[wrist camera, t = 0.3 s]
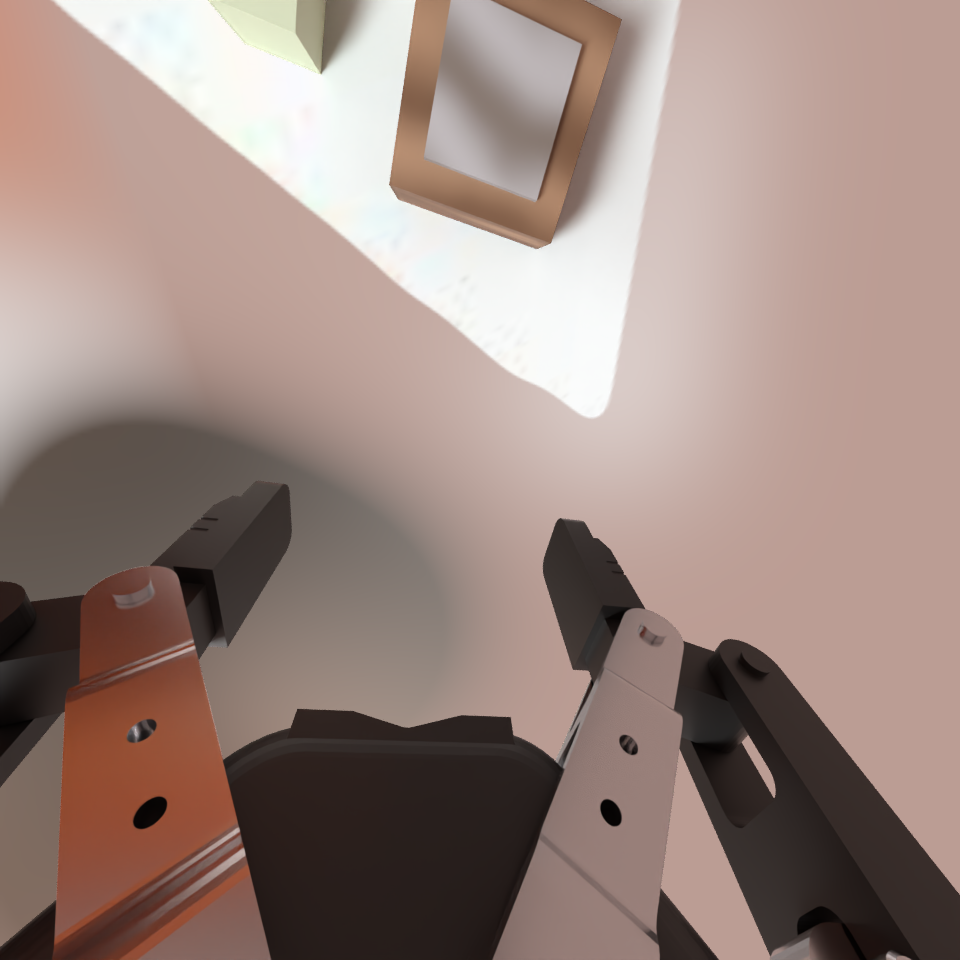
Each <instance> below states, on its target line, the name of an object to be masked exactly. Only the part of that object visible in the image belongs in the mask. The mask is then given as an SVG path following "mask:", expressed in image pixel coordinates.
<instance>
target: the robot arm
mask: <svg viewBox="0 0 960 960" xmlns="http://www.w3.org/2000/svg"><path fill="white" fill-rule="evenodd" d="M291 533H292V526H291V509H290V492H289V487H288V485H286V484H279V483H272V482H264V481H256V482H255V483H253V484H252V486H251V487H250V488H249V489H248V490H247V491H246V492H245V493H244V494H243V495H242V496H241V497H239V496H232V497H229V498H228V499H225V500H223V501H221V502H219V503H217V504H215V505H213V506H212V507H211V508H210V509H209V510H208V511H207V512H206V513H205V514H204V515H203V516H202V517H201V520H200V519H199V520H198V521H197V522H196V523H194V524H193V525H192V526H191V529H190V530H187V531H186V532H185V533H184V534H183V535H182V536H181V537H180V538H179V539H178V540H177V541H175V542H174V543H173V544H172V545H171V546H170V547H169V548H168V549H167V550H166V551H165V552H164V553H163V554H162V555H161V556H160V557H158V558H157V559H156V560H155V561H154V562H153V563H152V564H151V565H150V566H144V567H137V568H132V569H128V570H125V571H121V572H119V573H116V574H114V575H111V576H109V577H107V578H105V579H103V580H102V581H100V582H98V583H97V584H96V585H94V586H93V587H92V588H91V589H90V590H89V591H88V592H87V593H86V594H85V595H80V596H73V597H64V598H57V599H49V600H40V601H33V602H30V600H29V598H28V596H27V594H26V592H25V590H24V589H23V587H22V586H20V585H18V584H16V583H12V582H3V581H2V582H1V581H0V787H1V786H2V784H3V783H4V782H5V781H6V779H7V778H8V777H9V776H10V775H11V774H12V772H13V771H14V770H15V769H16V768H17V766H18V765H19V764H20V763H21V762H22V760H23V759H24V758H25V756H26V755H27V754H28V753H29V752H30V751H31V749H32V748H33V747H34V746H35V744H37V742H38V741H39V740H40V739H41V737H42V736H43V735H44V734H45V733H46V731H47V730H48V729H49V728H50V727H51V725H52V724H53V723H54V722H55V721H56V719H57V718H58V717H59V716H60V714H61V713H62V712H65V716H64V717H65V718H64V738H63V740H64V741H63V761H62V783H61V784H62V785H61V806H60V807H61V808H60V830H59V851H58V873H57V875H58V876H57V896H56V900H55V901H54V902H53V903H52V904H51V905H50V906H48V907H47V908H46V909H45V910H44V911H42V912H41V913H40V914H39V915H38V916H36V917H35V918H34V919H33V920H32V921H31V922H30V923H28V924H27V925H26V926H25V927H23V928H22V929H21V930H20V931H19V932H18V933H16V934H15V935H14V936H13V937H12V938H10V939H9V940H8V941H7V942H6V943H4V944H3V945H2V946H1V947H0V960H719V959H718V958H717V957H716V955H715V954H714V953H713V952H712V951H711V949H710V948H709V947H708V946H707V944H706V943H705V942H704V941H703V940H702V938H701V937H700V936H699V935H698V933H697V932H696V931H695V930H694V928H693V927H692V926H691V925H690V924H689V922H688V921H687V920H686V919H685V917H684V916H683V915H682V914H681V913H680V911H679V910H678V909H677V908H676V906H675V905H674V904H673V903H672V902H671V901H670V899H669V898H668V897H667V895H666V894H665V893H664V892H663V891H662V889H661V881H662V874H663V867H664V859H665V852H666V844H667V836H668V829H669V822H670V813H671V807H672V799H673V792H674V785H675V777H676V770H677V762H678V755H679V749H680V751H681V753H682V755H683V758H684V760H685V762H686V765H687V767H688V769H689V771H690V774H691V776H692V778H693V780H694V783H695V785H696V787H697V790H698V792H699V794H700V797H701V799H702V801H703V803H704V806H705V808H706V810H707V812H708V815H709V817H710V819H711V822H712V824H713V826H714V829H715V831H716V833H717V835H718V838H719V840H720V842H721V845H722V847H723V849H724V851H725V854H726V856H727V858H728V860H729V863H730V865H731V867H732V870H733V872H734V874H735V877H736V879H737V881H738V883H739V886H740V888H741V890H742V892H743V895H744V897H745V899H746V902H747V904H748V906H749V909H750V911H751V913H752V915H753V917H754V920H755V922H756V925H757V927H758V929H759V931H760V934H761V936H762V938H763V940H764V943H765V945H766V947H767V950H768V952H769V954H770V960H960V895H959V893H958V892H957V891H956V890H955V888H954V887H953V886H952V885H951V883H950V882H949V881H948V880H947V878H946V877H945V876H944V875H943V873H942V872H941V871H940V869H939V868H938V867H937V866H936V864H935V863H934V862H933V861H932V860H931V858H930V857H929V856H928V854H927V853H926V852H925V850H924V849H923V848H922V847H921V846H920V844H919V843H918V842H917V840H916V839H915V838H914V837H913V835H912V834H911V833H910V832H909V831H908V829H907V828H906V827H905V825H904V824H903V823H902V821H901V820H900V819H899V818H898V816H897V815H896V814H895V813H894V811H893V810H892V809H891V808H890V806H889V805H888V804H887V803H886V801H885V800H884V799H883V798H882V796H881V795H880V794H879V793H878V791H877V790H876V789H875V788H874V786H873V785H872V784H871V782H870V781H869V780H868V779H867V777H866V776H865V775H864V774H863V772H862V771H861V770H860V769H859V767H858V766H857V765H856V763H855V762H854V761H853V760H852V758H851V757H850V756H849V755H848V753H847V752H846V751H845V750H844V748H843V747H842V746H841V744H840V743H839V742H838V741H837V739H836V738H835V737H834V736H833V734H832V733H831V732H830V731H829V730H828V728H827V727H826V726H825V724H824V723H823V722H822V721H821V719H820V718H819V717H818V715H817V714H816V713H815V712H814V710H813V709H812V708H811V707H810V705H809V704H808V703H807V702H806V700H805V699H804V698H803V697H802V695H801V694H800V693H799V692H798V690H797V689H796V688H795V686H793V684H792V683H791V681H790V680H789V679H788V678H787V676H786V675H785V674H784V673H783V671H782V670H781V669H780V668H779V667H778V665H777V664H776V663H775V662H774V661H773V660H772V659H770V658H769V657H768V656H767V655H766V654H764V653H763V652H761V651H760V650H758V649H757V648H755V647H753V646H751V645H749V644H747V643H745V642H742V641H739V640H733V639H728V640H724V641H722V642H721V643H720V645H719V646H718V648H717V649H716V650H715V652H714V651H711V650H708V649H705V648H702V647H699V646H696V645H693V644H691V643H687V642H685V641H683V639H682V637H681V635H680V634H679V632H678V631H677V629H676V628H675V627H674V626H673V625H672V624H671V623H670V622H669V621H668V620H666V619H665V618H663V617H662V616H660V615H658V614H657V613H654V612H652V611H649V610H646V609H645V608H644V606H643V604H642V602H641V601H640V599H639V597H638V596H637V594H636V592H635V590H634V589H633V587H632V585H631V584H630V582H629V580H628V579H627V577H626V575H624V572H623V570H622V569H621V567H620V565H618V562H617V560H616V558H615V557H614V555H613V553H612V552H611V550H610V549H609V548H608V547H607V546H606V545H605V544H604V543H602V542H601V541H600V540H599V539H598V538H593V537H592V535H591V533H590V531H589V529H588V527H587V525H586V524H585V522H583V521H579V520H570V519H562V518H560V519H558V520H557V522H556V524H555V527H554V530H553V533H552V536H551V539H550V542H549V545H548V548H547V550H546V553H545V557H544V562H543V574H544V578H545V582H546V585H547V588H548V591H549V595H550V598H551V601H552V604H553V607H554V610H555V613H556V617H557V620H558V623H559V626H560V630H561V633H562V636H563V639H564V642H565V646H566V649H567V652H568V655H569V658H570V661H571V665H572V668H573V670H588V671H589V672H590V675H591V680H590V683H589V684H588V686H587V689H586V691H585V693H584V696H583V698H582V701H581V703H580V705H579V708H578V710H577V712H576V715H575V717H574V720H573V722H572V724H571V727H570V729H569V731H568V734H567V736H566V738H565V741H564V743H563V745H562V748H561V750H560V752H559V754H558V756H557V758H556V760H555V761H554V759H553V758H551V757H550V756H549V755H548V754H546V753H545V752H544V751H543V750H541V749H539V748H538V747H536V746H535V745H533V744H532V743H530V742H528V741H526V740H524V739H522V738H519V737H516V736H514V735H513V731H512V724H511V718H510V717H491V716H466V715H465V716H464V715H461V716H457V717H453V718H448V719H444V720H440V721H436V722H432V723H428V724H424V725H420V726H415V727H411V728H404V727H401V726H398V725H394V724H391V723H388V722H385V721H382V720H379V719H375V718H372V717H370V716H367V715H364V714H360V713H357V712H354V711H335V710H309V709H297V712H296V714H295V717H294V720H293V723H292V726H291V728H289V729H285V730H281V731H278V732H275V733H272V734H269V735H266V736H264V737H262V738H260V739H258V740H256V741H253V742H251V743H249V744H248V745H246V746H244V747H243V748H241V749H239V750H237V751H236V752H234V753H233V754H231V755H230V756H228V757H227V758H225V759H224V760H223V757H222V753H221V749H220V745H219V741H218V736H217V732H216V729H215V724H214V720H213V716H212V712H211V708H210V704H209V700H208V695H207V692H206V687H205V684H204V679H203V675H202V671H201V667H200V663H199V659H200V657H201V656H202V654H203V653H204V651H205V650H206V648H207V647H208V646H212V647H226V648H227V647H228V646H229V644H230V643H231V641H232V639H233V638H234V636H235V634H236V633H237V631H238V630H239V628H240V626H241V625H242V623H243V621H244V620H245V618H246V616H247V615H248V613H249V612H250V610H251V608H252V607H253V605H254V603H255V601H256V600H257V598H258V597H259V595H260V593H261V592H262V590H263V588H264V587H265V585H266V584H267V582H268V580H269V579H270V577H271V575H272V574H273V572H274V571H275V569H276V567H277V566H278V564H279V562H280V561H281V559H282V557H283V556H284V554H285V553H286V551H287V548H288V546H289V543H290V539H291ZM747 735H749V736H750V738H751V740H752V741H753V743H754V745H755V746H756V748H757V750H758V751H759V753H760V755H761V756H762V758H763V760H764V761H765V763H766V765H767V766H768V768H769V770H770V772H771V774H772V776H773V779H774V782H775V788H776V795H775V798H773V796H772V794H771V793H770V791H769V789H768V787H767V786H766V784H765V782H764V780H763V779H762V777H761V775H760V774H759V772H758V770H757V768H756V767H755V765H754V763H753V762H752V760H751V758H750V756H749V755H748V753H747V751H746V749H745V748H744V746H743V744H742V743H741V742H742V741H743V740H744V739H745V738H746V737H747Z"/></svg>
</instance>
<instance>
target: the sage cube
mask: <svg viewBox="0 0 960 960" xmlns="http://www.w3.org/2000/svg"><path fill="white" fill-rule="evenodd" d="M208 1H209V2H210V4H211V5H212V6H213V7H214V8H215V10H216V11H217V12H218V13H219V14H220V15H221V17H222V18H223V19H224V20H225V21H226V22H227V24H228V25H229V26H230V27H231V28H232V29H233V31H234V32H235V33H236V34H237V35H238V37H239V38H240V39H241V40H242V41H243V42H244V44H246V45H249V46H251V47H254V48H256V49H259V50H261V51H264V52H266V53H269V54H271V55H273V56H276V57H278V58H281V59H283V60H286V61H288V62H291V63H293V64H296V65H298V66H301V67H303V68H305V69H308V70H310V71H313V72H315V73H318V74H320V75H321V66H322V52H323V37H324V23H325V9H326V0H208Z"/></svg>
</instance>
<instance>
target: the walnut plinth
mask: <svg viewBox="0 0 960 960" xmlns="http://www.w3.org/2000/svg"><path fill="white" fill-rule="evenodd" d="M621 20H622V19H620V18H618V17H616V16H614V15H612V14H610V13H608V12H606V11H604V10H602V9H600V8H598V7H596V6H594V5H592V4H590V3H588V2H586V1H584V0H416V2H415V9H414V16H413V23H412V30H411V37H410V44H409V51H408V58H407V65H406V72H405V79H404V86H403V93H402V100H401V107H400V114H399V121H398V128H397V135H396V142H395V149H394V156H393V163H392V170H391V177H390V184H389V185H390V186H391V188H392V190H393V191H394V193H395V195H396V196H397V198H398V199H399V200H401V201H404V202H407V203H410V204H413V205H415V206H418V207H421V208H424V209H427V210H429V211H432V212H435V213H438V214H440V215H443V216H446V217H449V218H452V219H454V220H457V221H460V222H463V223H466V224H468V225H471V226H474V227H477V228H480V229H482V230H485V231H488V232H491V233H494V234H496V235H499V236H502V237H505V238H508V239H510V240H513V241H516V242H519V243H521V244H524V245H527V246H530V247H533V248H535V249H538V248H541V247H543V246H546V245H548V244H550V243H551V241H552V238H553V235H554V232H555V229H556V225H557V222H558V219H559V216H560V213H561V210H562V207H563V203H564V200H565V197H566V194H567V191H568V188H569V184H570V181H571V178H572V175H573V172H574V169H575V166H576V162H577V159H578V156H579V153H580V150H581V147H582V143H583V140H584V137H585V134H586V131H587V128H588V125H589V121H590V118H591V115H592V112H593V109H594V106H595V102H596V99H597V96H598V93H599V90H600V87H601V84H602V80H603V77H604V74H605V71H606V68H607V65H608V61H609V58H610V55H611V52H612V49H613V46H614V43H615V39H616V36H617V33H618V30H619V27H620V24H621Z"/></svg>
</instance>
